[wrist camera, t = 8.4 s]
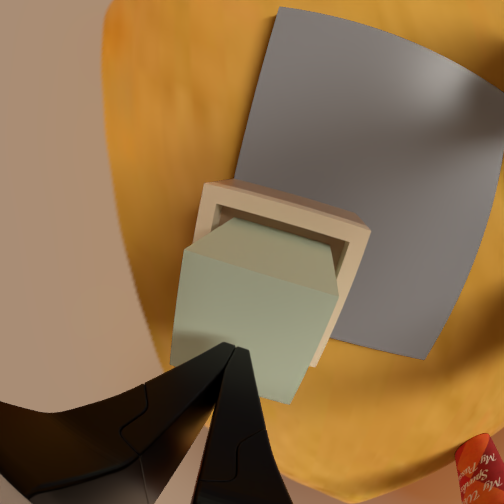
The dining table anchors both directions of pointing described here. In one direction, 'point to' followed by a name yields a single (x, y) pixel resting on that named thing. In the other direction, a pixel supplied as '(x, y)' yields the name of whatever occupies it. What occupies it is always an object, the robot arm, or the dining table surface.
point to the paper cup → (480, 471)
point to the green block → (256, 301)
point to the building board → (369, 172)
